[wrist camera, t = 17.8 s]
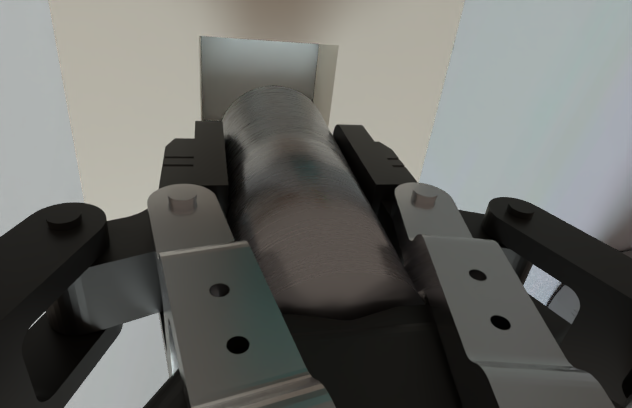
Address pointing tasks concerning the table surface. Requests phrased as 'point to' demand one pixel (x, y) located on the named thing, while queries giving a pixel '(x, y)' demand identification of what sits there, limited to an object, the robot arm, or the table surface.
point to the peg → (306, 211)
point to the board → (243, 23)
